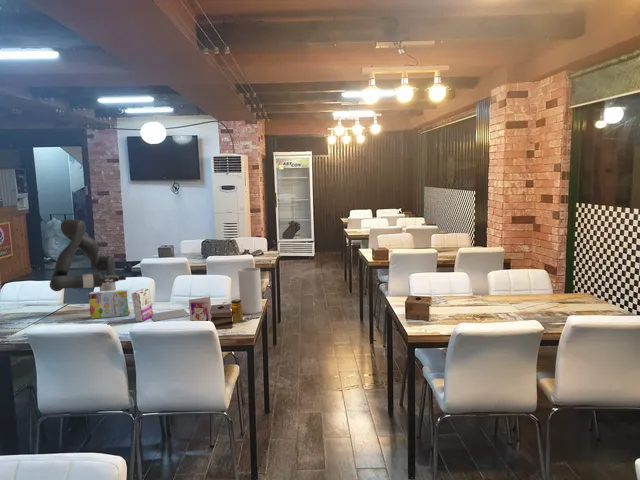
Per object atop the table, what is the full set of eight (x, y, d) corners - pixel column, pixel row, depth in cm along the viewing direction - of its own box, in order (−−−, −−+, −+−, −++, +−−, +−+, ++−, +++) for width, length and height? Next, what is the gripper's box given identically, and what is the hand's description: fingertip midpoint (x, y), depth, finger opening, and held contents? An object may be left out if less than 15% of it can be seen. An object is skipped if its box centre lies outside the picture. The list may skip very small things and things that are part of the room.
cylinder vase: (240, 315, 287) (238, 272, 284) (240, 309, 299) (238, 268, 296) (262, 313, 289) (260, 270, 286) (261, 308, 301) (259, 267, 298)
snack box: (130, 313, 300) (128, 288, 298) (128, 316, 294) (126, 290, 293) (93, 316, 296) (90, 291, 295) (90, 319, 291) (88, 293, 289)
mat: (154, 321, 280) (154, 320, 280) (149, 314, 295) (149, 314, 295) (190, 315, 289) (190, 315, 289) (183, 309, 304) (183, 308, 304)
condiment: (228, 322, 273) (227, 300, 272) (240, 318, 280) (239, 297, 278) (237, 324, 269) (236, 302, 267) (249, 320, 275) (248, 299, 274)
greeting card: (189, 327, 265) (188, 300, 264) (195, 323, 273) (193, 296, 271) (210, 328, 264) (208, 300, 262) (215, 323, 271) (213, 296, 269)
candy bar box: (145, 315, 292) (141, 288, 290) (153, 315, 291) (149, 288, 288) (134, 321, 281) (131, 293, 279) (143, 321, 280) (139, 293, 278)
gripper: (93, 275, 265) (127, 272, 274) (89, 272, 276) (123, 269, 285) (93, 289, 266) (128, 285, 275) (90, 285, 277) (123, 282, 286)
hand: (125, 277), depth 280 cm, fingers closed
